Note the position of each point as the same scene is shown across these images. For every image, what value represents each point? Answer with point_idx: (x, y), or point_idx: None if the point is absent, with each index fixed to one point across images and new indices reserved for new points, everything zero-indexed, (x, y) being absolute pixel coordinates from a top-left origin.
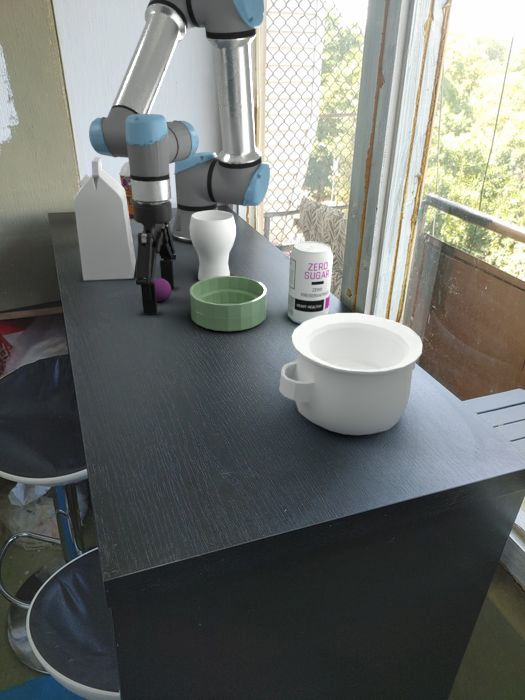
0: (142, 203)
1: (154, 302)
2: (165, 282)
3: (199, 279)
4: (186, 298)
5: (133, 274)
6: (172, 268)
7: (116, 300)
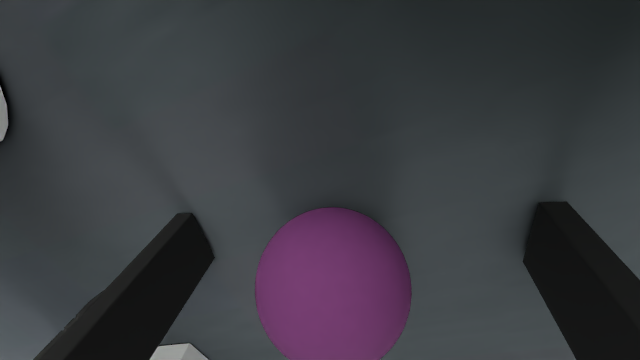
0: None
1: (624, 272)
2: (326, 306)
3: (2, 129)
4: (256, 109)
5: (172, 351)
6: (91, 320)
7: (385, 354)
